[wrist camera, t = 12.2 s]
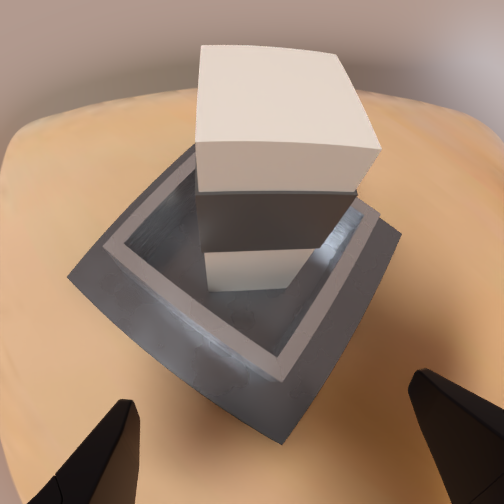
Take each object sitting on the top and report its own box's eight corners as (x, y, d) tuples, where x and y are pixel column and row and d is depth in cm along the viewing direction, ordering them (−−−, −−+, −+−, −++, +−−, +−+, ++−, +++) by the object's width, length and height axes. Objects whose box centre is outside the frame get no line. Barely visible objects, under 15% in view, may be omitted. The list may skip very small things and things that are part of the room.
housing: (279, 443, 15) (297, 460, 11) (70, 280, 17) (40, 255, 13) (397, 237, 21) (427, 209, 17) (220, 126, 23) (222, 86, 19)
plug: (288, 289, 18) (386, 152, 7) (206, 293, 17) (190, 145, 6) (279, 218, 20) (338, 53, 9) (204, 220, 19) (198, 44, 8)
